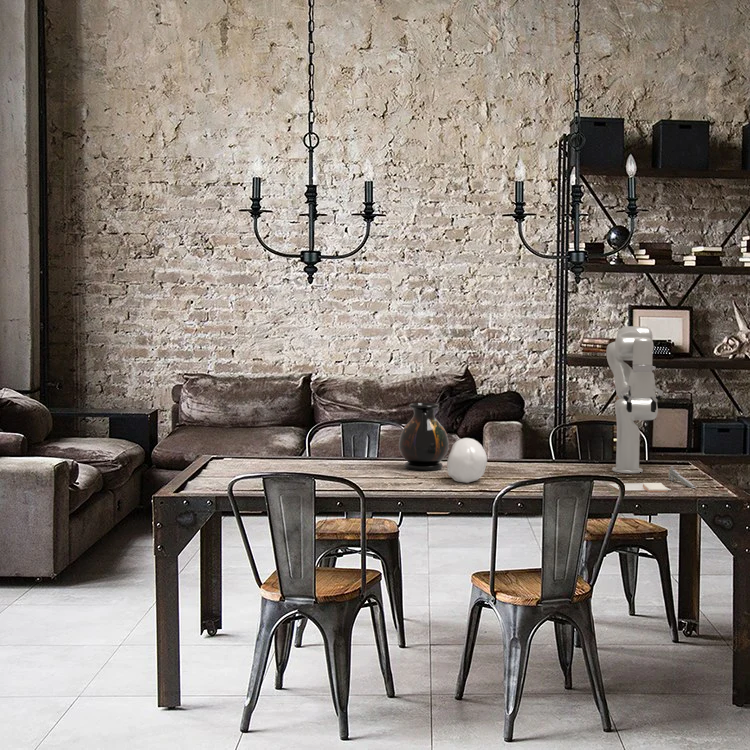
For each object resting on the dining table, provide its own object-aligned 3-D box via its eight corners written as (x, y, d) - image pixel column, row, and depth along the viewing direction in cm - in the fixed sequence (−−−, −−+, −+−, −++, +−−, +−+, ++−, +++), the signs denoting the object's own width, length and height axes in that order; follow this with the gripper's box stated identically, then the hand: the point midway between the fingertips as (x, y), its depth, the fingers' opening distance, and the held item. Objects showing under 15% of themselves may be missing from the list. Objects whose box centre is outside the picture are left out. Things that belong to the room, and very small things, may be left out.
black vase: (449, 472, 424) (450, 406, 422) (398, 472, 425) (399, 406, 423) (447, 464, 446) (447, 401, 444) (398, 464, 446) (399, 401, 444)
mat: (607, 485, 397) (607, 483, 396) (657, 484, 398) (657, 483, 398) (620, 492, 382) (620, 490, 382) (671, 491, 383) (671, 489, 383)
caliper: (668, 480, 409) (668, 465, 408) (670, 480, 409) (671, 465, 409) (693, 489, 389) (694, 473, 388) (696, 489, 389) (696, 473, 389)
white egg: (480, 466, 420) (485, 427, 406) (485, 501, 404) (491, 462, 391) (442, 466, 420) (446, 426, 406) (446, 501, 404) (450, 462, 390)
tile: (642, 482, 386) (660, 482, 386) (642, 486, 386) (660, 486, 387) (649, 489, 378) (667, 489, 379) (649, 493, 379) (667, 493, 379)
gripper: (659, 368, 405) (658, 410, 406) (618, 368, 404) (617, 411, 405) (666, 369, 398) (665, 412, 399) (624, 369, 396) (623, 413, 397)
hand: (641, 412), depth 402 cm, fingers open, 9 cm apart
